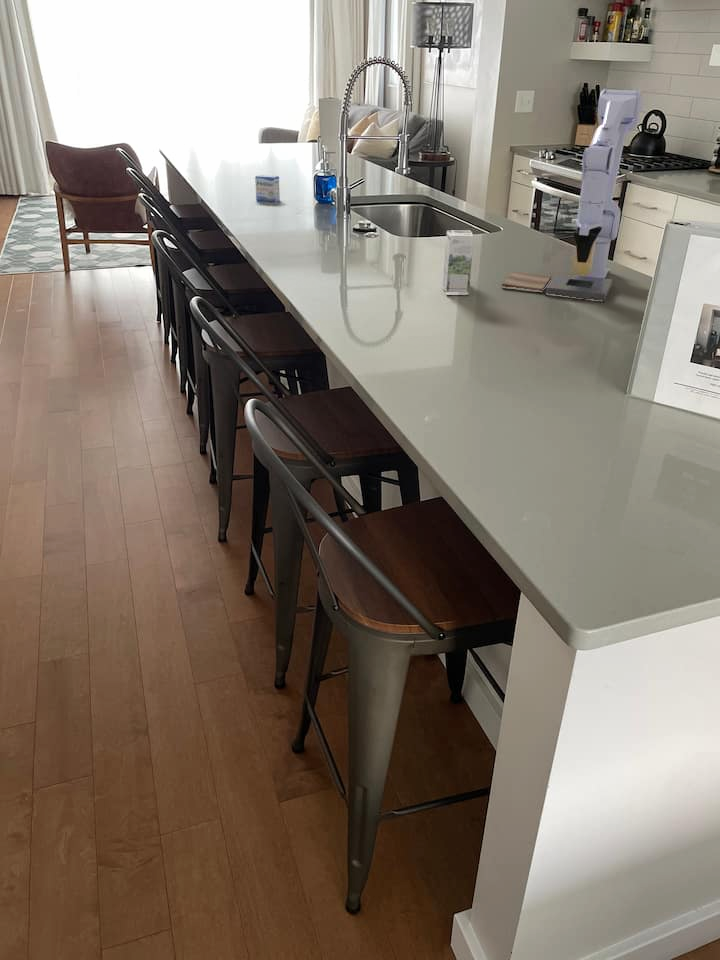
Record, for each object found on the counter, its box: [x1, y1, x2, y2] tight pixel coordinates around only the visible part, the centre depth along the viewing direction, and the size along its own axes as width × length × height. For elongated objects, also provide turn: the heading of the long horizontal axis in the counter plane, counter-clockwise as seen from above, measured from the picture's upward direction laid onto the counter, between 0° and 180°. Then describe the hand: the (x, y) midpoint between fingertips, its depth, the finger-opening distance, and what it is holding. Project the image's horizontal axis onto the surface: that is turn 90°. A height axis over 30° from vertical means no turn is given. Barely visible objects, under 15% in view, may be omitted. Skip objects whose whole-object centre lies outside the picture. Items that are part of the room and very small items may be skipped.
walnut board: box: [501, 271, 553, 292], centre depth 199 cm, size 12×10×1 cm
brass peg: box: [571, 239, 596, 276], centre depth 190 cm, size 4×4×8 cm
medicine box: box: [254, 174, 281, 203], centre depth 292 cm, size 8×4×9 cm, turn 73°
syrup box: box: [442, 229, 475, 293], centre depth 189 cm, size 6×6×14 cm
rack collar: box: [544, 272, 613, 301], centre depth 194 cm, size 14×14×2 cm
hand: (583, 259), depth 190 cm, fingers closed on brass peg, 4 cm apart
